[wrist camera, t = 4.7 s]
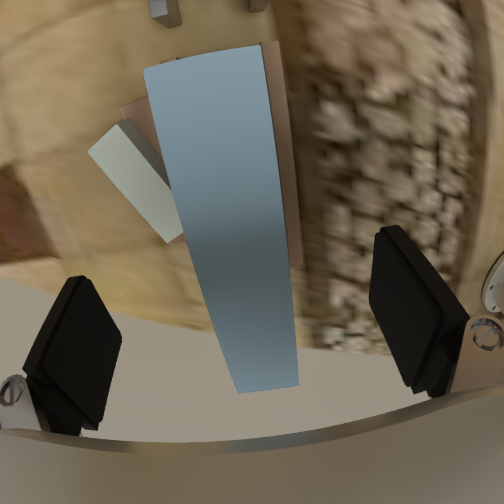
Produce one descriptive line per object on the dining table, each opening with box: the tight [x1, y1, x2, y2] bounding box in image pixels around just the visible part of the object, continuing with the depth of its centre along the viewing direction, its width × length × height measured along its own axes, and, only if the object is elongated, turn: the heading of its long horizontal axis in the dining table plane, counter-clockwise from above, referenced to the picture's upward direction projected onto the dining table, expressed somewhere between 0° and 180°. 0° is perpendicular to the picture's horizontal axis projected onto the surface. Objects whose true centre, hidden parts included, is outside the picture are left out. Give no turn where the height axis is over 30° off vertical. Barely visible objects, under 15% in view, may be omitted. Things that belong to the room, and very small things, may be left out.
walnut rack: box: [160, 41, 303, 267], centre depth 22 cm, size 7×16×5 cm, turn 9°
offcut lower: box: [119, 97, 186, 245], centre depth 23 cm, size 4×12×2 cm, turn 12°
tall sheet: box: [143, 45, 299, 393], centre depth 17 cm, size 3×14×16 cm, turn 9°
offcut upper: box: [88, 117, 183, 243], centre depth 21 cm, size 3×9×2 cm, turn 33°
